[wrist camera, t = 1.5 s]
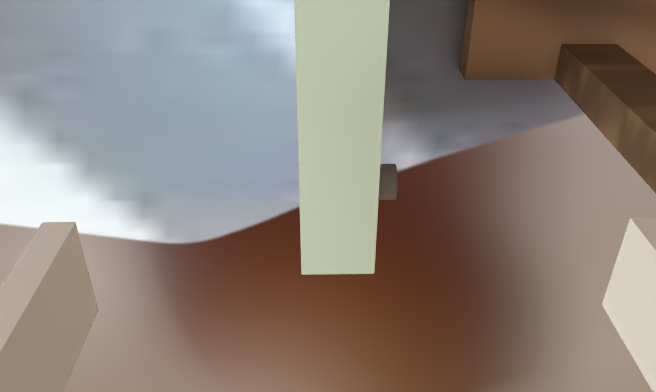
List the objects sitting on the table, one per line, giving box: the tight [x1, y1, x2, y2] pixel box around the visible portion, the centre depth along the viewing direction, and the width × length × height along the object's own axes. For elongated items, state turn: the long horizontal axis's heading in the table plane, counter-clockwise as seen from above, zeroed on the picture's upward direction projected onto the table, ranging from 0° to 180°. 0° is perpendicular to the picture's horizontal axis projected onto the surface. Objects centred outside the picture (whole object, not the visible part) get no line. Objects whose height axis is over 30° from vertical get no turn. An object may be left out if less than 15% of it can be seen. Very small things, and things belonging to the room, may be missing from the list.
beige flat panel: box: [294, 0, 397, 274], centre depth 27 cm, size 14×4×14 cm, turn 0°
